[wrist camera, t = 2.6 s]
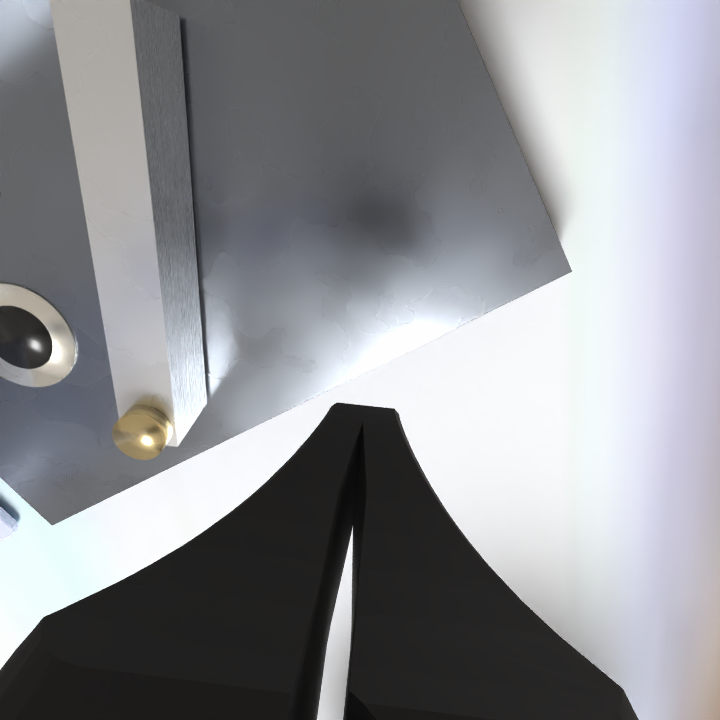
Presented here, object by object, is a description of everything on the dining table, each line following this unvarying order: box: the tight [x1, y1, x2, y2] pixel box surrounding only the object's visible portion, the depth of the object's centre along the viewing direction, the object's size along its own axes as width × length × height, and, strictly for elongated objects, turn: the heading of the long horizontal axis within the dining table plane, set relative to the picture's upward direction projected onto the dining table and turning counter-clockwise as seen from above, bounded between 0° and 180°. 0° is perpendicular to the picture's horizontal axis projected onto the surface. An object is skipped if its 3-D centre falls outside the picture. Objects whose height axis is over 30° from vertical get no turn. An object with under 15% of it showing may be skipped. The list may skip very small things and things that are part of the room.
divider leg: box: [49, 0, 207, 460], centre depth 13 cm, size 11×2×3 cm, turn 176°
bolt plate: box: [0, 0, 572, 525], centre depth 12 cm, size 21×19×6 cm
